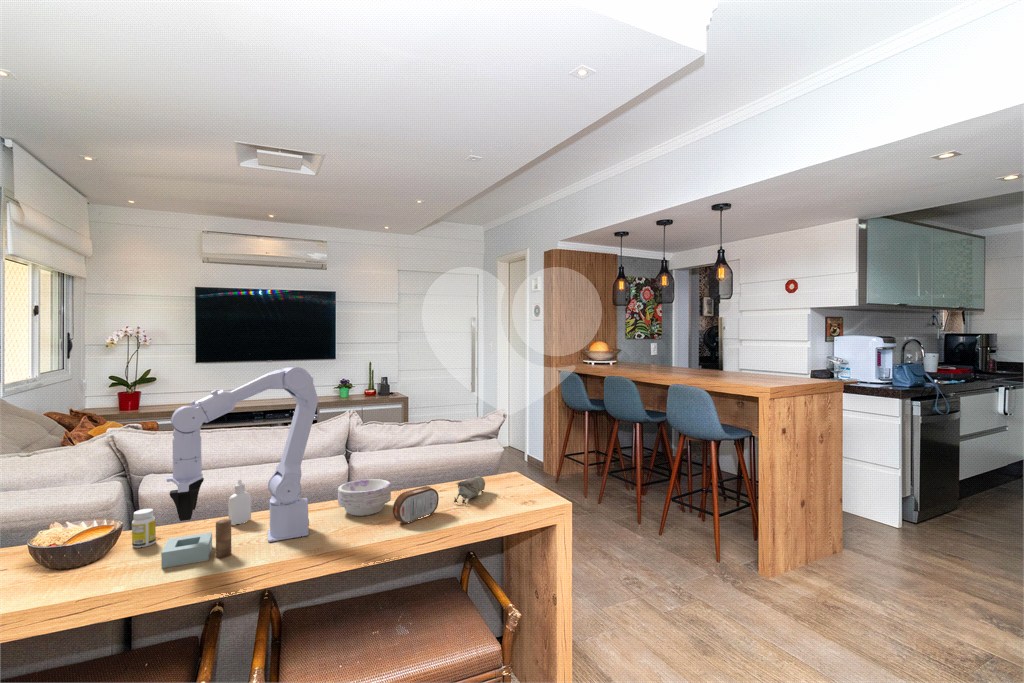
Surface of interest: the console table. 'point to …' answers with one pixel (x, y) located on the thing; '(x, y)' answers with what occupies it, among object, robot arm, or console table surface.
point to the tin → (415, 504)
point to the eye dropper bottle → (240, 505)
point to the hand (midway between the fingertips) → (187, 514)
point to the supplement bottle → (143, 528)
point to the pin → (223, 538)
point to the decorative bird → (470, 487)
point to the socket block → (186, 550)
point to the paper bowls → (364, 496)
